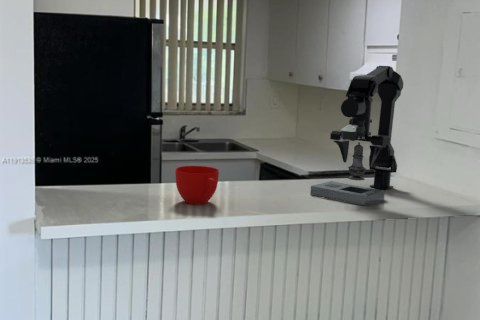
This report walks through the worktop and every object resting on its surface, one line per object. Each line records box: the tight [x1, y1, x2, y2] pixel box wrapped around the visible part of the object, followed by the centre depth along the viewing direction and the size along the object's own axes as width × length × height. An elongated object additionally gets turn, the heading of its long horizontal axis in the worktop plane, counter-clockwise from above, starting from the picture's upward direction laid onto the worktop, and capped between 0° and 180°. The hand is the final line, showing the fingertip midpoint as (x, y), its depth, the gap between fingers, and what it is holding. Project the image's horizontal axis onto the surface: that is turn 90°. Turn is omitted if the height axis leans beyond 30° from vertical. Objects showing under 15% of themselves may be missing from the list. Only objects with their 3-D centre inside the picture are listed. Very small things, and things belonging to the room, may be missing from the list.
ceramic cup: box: [175, 165, 220, 205], centre depth 178 cm, size 13×17×10 cm
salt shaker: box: [347, 142, 367, 181], centre depth 193 cm, size 6×6×12 cm
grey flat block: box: [310, 180, 385, 207], centre depth 196 cm, size 13×20×3 cm, turn 50°
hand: (357, 164), depth 193 cm, fingers open, 9 cm apart
